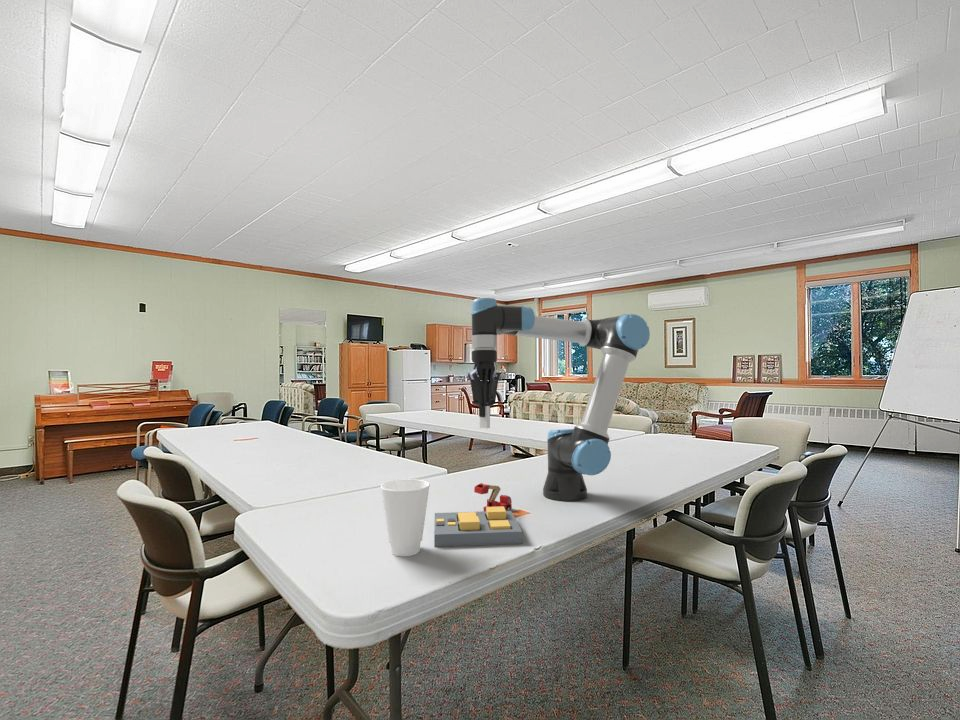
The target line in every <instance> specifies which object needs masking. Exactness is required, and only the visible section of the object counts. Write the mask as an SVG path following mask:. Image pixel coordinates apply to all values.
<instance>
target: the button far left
mask: <svg viewBox="0 0 960 720" xmlns="http://www.w3.org/2000/svg"><path fill="white" fill-rule="evenodd" d="M485 507H486V506H485ZM506 511H507V510H505V508H504V506H501V507H486V515H487V518H488V520H489V519H490V520H502V519H506Z"/></svg>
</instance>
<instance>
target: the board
mask: <svg viewBox="0 0 960 720" xmlns="http://www.w3.org/2000/svg"><path fill="white" fill-rule="evenodd" d="M462 512H463V511H455V512H452V511H451V512H434V536H433V537H434V541H433V542H434V547H435V548H436V547H437V548H438V547H441V548H442V547H462V546H463V547H464V546H491V545H493V546H494V545H515V544H517V545H518V543H522V544H523V530H522V528H521V527H520V525H519V522H518V521H517V519H516V517H515V515H514V514H513V512H512V510H509V511H507V510H506V519H502V520H508V521H509V523H510V526H511V529H499V530H490V528H489V521H492V520H490V519H489V520H488V518H487V515H486V511H484V510H483V511H475V512H476V515H477V516H478V518H479V521H480V530H470V531H463V530H460V526H459V521H458V513H462Z"/></svg>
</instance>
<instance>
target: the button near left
mask: <svg viewBox="0 0 960 720" xmlns="http://www.w3.org/2000/svg"><path fill="white" fill-rule="evenodd" d="M489 528H490V530H499V529H511V526H510V523H509V521H508V520H492V521H489Z"/></svg>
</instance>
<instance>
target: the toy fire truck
mask: <svg viewBox="0 0 960 720" xmlns="http://www.w3.org/2000/svg"><path fill="white" fill-rule="evenodd" d="M500 487H501V486H499V485H495V484H494V485H493V484H486V483H482V482H480V483H478V484H477V485H475V486H474V489H473V493H476V494H479V495H486V494H489V490H491V493H490V496H489V498H488V499H487V500H486V506H483V512H484V511H486V507H501V506H504V508H505V510H506V511H511V510H512V509H513V508H512V507H513V506H512V505H513V504H512V502H513V501H512V498H511V496H509V495H506V494H505V495H504V494H501V495H499V493H500V492H501V488H500ZM498 495H499V501H497V500H496V499H497V497H498Z"/></svg>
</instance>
